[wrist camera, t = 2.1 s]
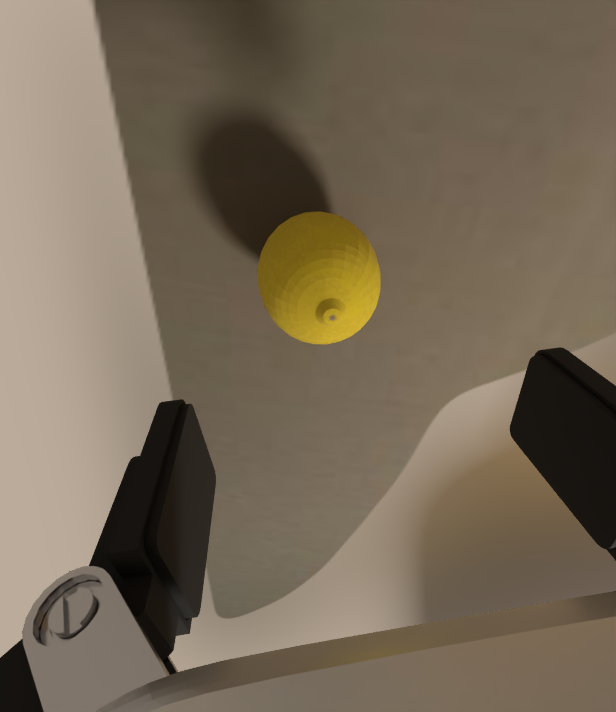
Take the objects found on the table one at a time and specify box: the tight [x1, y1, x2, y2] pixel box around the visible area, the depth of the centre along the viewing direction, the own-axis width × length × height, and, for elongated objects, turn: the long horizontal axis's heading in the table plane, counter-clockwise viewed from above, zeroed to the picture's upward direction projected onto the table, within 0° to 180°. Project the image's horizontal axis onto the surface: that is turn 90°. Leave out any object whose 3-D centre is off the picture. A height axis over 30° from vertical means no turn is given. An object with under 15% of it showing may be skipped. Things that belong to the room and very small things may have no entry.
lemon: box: [257, 211, 380, 344], centre depth 17 cm, size 6×6×8 cm
